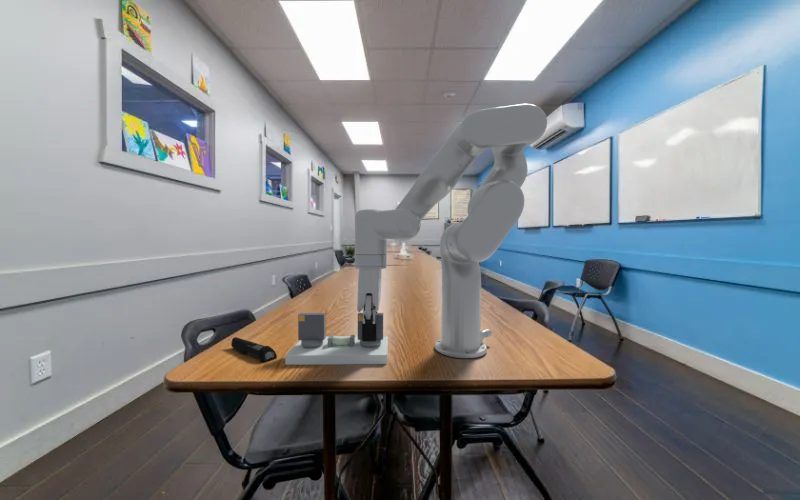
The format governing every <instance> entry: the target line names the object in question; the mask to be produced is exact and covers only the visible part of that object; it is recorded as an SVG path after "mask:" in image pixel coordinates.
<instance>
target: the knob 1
mask: <svg viewBox="0 0 800 500" xmlns="http://www.w3.org/2000/svg"><path fill="white" fill-rule="evenodd" d="M326 314H327V313H326V312H300V313H299V314H298V315H297V318H298V319H297V324H298V325H297V326H298V327H297V329H298V331H297V334H298V336H297V337H298V338H297V339H298V341H300V340H301V346H303V347H307V348H311V347H317V346H320V345H322V344H323V340H324V339H325V338H326V336H327V334H326V332H327V331H326V330H327V327H326V325H327V324H326V321H327V320H326V319H327V318H326V317H327V315H326Z"/></svg>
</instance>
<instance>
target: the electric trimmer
mask: <svg viewBox="0 0 800 500" xmlns="http://www.w3.org/2000/svg"><path fill="white" fill-rule="evenodd" d="M230 346H231V347H232V348H233V349H235V350H236V351H237V352H239V354H242V355H250V356H252V357H254V358H257V359H259V361H260V363H269V362H271V361H274V360H276V359H277V356H278V355H277V352H276V351H275V350H274V349H273V348H272V347H271V346H269V345H262V344H260V343H256V342H253V341H251V340H250V341H249V340H246V339H244V338H240V337H236V336H235V337H233V338H232V340H231V344H230Z"/></svg>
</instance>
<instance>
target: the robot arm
mask: <svg viewBox="0 0 800 500" xmlns="http://www.w3.org/2000/svg"><path fill="white" fill-rule="evenodd" d="M547 127H548V118H547V114H546V112H545V111H544V110H543V109H542V108H541V107H540V106H538V105H535V104H532V103H519V104H512V105H505V106H496V107H489V108H484V109H479V110H476V111H472V112H470V113H468V114H467V115H465V116H464V118H462V120H461V121H460V123H459V124H458V125H457V126H456V128H455V129H453V131H452V132H451V134H450V135H449V136H448V137H447V138H446V140H445V142H443V144H442V145H441V146H440V148H439V149H438V150H437V152H436V153H435V154H434V155H433V156H432V158H431V159H430V161H429V162H428V163H427V165H426V166H425V167H424V168H423V170H422V171H421V172H420V174H419V175H418V177H417V179H416V180H415V181H414V184H413V185H412V186H411V187H410V189H409V190H408V192H407V193H406V195H405V196H404V197H403V199H402V200H401V201H400V202H399V204H398V205H397V206H396V208H395V209H387V210H380V209H371V208H370V209H369V208H367V209H359V210H358V211H356V213H355V215H354V269H357V270H358V274H357V275H358V276H357V278H358V281H357V301H356V302H357V303H356V306H357V307H356V311H357V312H358V313H361V311H362V313H363V323H362V341H376V323H375V315H376V313H378V311H379V309H380V304H381V298H382V295H381V294H382V270H383V269H384V270H385V269H387V257H388V256H387V240H394V241H397V242H407V241H410V240H412V239H414V238H415V237H416V236H417V235H418V234H419V233H420V230H421V225H422V224H421V223H422V220H423V219H425V217H426V216H427V214H428V213H429V212H430V211H431V210H432V209H433V208H434V207H435V206H436V205H437V204H438V203H439V202H441V201H443V200H444V199H445V198H446V197H447V196H448V194H450V192H451V191H452V190H453V189H454V188H455V187H456V185H457V184H458V183H459V182H460V180H461V179H462V177H463V176H464V175H465V173H466V172H467V171H468V169H469V168H470V167H471V166H472V165H473V163H474V162H475V160H476V159H477V158H478V157H479V156H480V154H482V153H483V152H484V151H486V150H487V149H489V148H490V149H491V152H492V154H493V161H494V163H493V166H492V167H491V169H490V171H489V173H488V174H487V176H486V177H485V178H484V180H483V181H482V183H481V184H480V185H479V187H478V188H477V190H476V191H475V192H474V193H473V194H472V196H471V197H470V199H469V201H468V203H467V208H466V209H467V213H468V216H467V217H466V218H465V219H464V220H463V221H458V222H454V223H452V224H450V225H449V226H447V227H446V228H445V229H444V230H443V232H442V233H441V234H442V235H441V236H440V241H439V253H440V263H441V338H439V339H438V340H436V341H435V343H434V348H435V350H436V351H437V352H439V353H440V354H442V355H444V356H447V357H451V358H456V359H457V358H458V359H475V358H480V357H482V356H484V355H486V353H487V350H488V347H487V345H486V344H485V343H484V342H483V341H484V339H485V338H489V337H491V336H492V334H493V333H492V331H491V329H489V328H488V329H487V328H486V329H481V317H482V316H481V315H482V314H481V313H482V311H481V310H482V307H481V306H482V304H481V303H482V302H481V301H482V295H481V294H482V274H481V266H480V263H482V262H484V261H486V260H488V259H489V258H491V257H492V256H493V254H495V253H496V251H497V250H498V248H500V246H501V244H502V243H503V241H504V240H505V239H506V237H507V236H508V235H509V233H510V232H511V230H512V229H513V227H514V226H516V223H517V222H518V221H519V219H520V217H521V216H522V213H523V210H524V207H525V195H524V192H523V190H522V189H521V187H522V186H523V185H524V182H525V181H526V179H527V176H528V163H527V158H526V155H525V154H526V153H525V152H524V149H525V148H528V147H529V146H531V145H533V144H534V143H536V142H537V141H538V140H540V138H542V137H543V135H544V134H545V132H546V129H547Z"/></svg>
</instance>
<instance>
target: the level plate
mask: <svg viewBox="0 0 800 500" xmlns="http://www.w3.org/2000/svg"><path fill="white" fill-rule="evenodd" d="M388 339H389V336H388V335H386V336H385V335H383V340H381V345H379V346H376V347H363V346H361V345H360V340H358V335H356V336H355V334H351V335H350V336H348V335H347V336H345V335H344V336H341V335H340V336H338V335H337V336H336V335H334V334H329V335H326V338H325V339H324V340H323V344H322V345H320V346H317V347H311V348H307V347H303V346H301V340H298V342H297V343H296V344H295V345H294V346H293V347H292V348H291V349H290V350H289V351H288V352H287V353H286V354H285V359H284V361H285V365H286V366H290V365H291V366H293V365H295V366H296V365H298V366H299V365H301V366H302V365H303V366H305V365H307V366H309V365H311V366H315V365H316V366H317V365H320V366H321V365H388V348H389V346H388V345H389V340H388Z"/></svg>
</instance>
